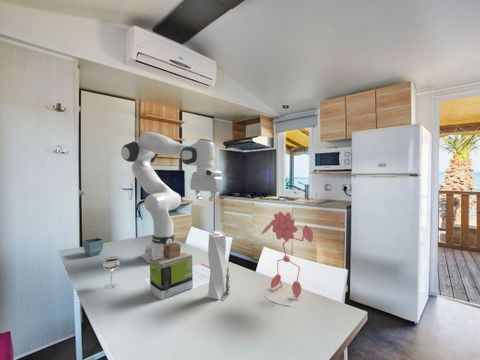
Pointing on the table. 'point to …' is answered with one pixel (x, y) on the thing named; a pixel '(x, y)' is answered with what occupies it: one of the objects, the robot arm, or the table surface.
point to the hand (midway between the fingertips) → (205, 200)
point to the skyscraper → (217, 266)
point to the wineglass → (111, 268)
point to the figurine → (284, 230)
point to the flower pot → (93, 246)
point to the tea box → (170, 275)
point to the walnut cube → (171, 250)
